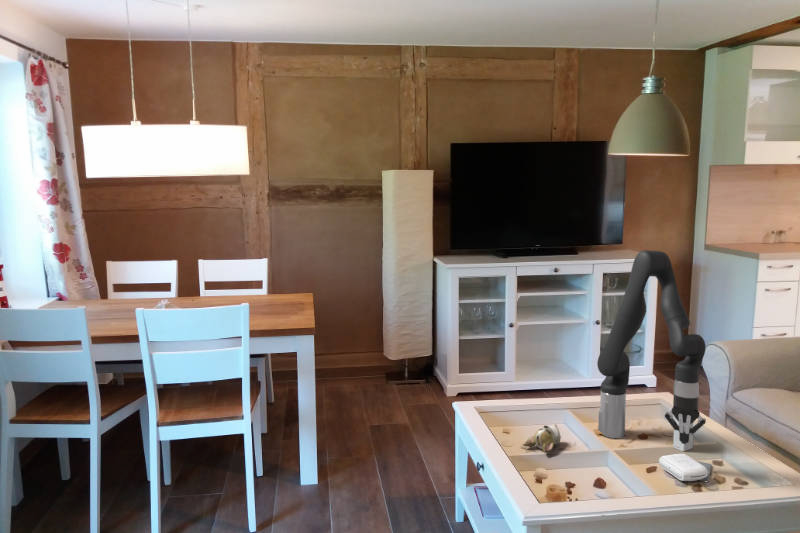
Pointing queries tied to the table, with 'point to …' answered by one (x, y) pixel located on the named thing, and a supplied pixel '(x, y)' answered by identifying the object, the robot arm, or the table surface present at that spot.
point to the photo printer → (683, 467)
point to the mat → (708, 467)
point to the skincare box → (677, 442)
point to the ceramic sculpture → (545, 438)
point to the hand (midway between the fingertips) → (684, 442)
